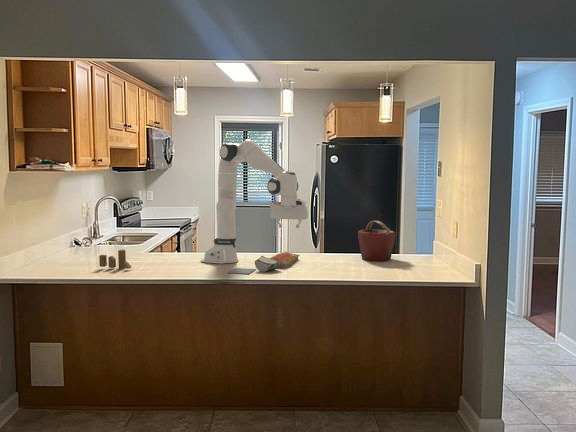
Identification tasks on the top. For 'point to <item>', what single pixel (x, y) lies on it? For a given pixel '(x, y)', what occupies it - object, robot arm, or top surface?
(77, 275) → the top surface
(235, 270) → the mat
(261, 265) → the food container
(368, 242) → the bucket
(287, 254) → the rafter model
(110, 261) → the wooden block set
